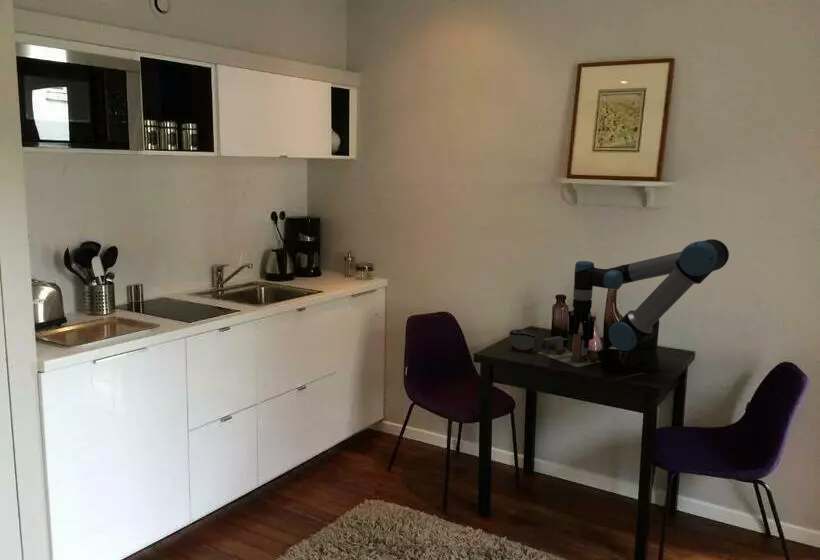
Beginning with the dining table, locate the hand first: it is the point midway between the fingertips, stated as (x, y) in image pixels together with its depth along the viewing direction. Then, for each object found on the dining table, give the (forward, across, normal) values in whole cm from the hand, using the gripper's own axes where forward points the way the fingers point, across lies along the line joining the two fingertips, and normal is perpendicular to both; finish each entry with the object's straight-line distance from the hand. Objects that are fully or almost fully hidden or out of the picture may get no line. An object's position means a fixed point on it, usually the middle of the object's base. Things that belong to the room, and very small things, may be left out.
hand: (579, 353), depth 288 cm
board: (+4, +6, 0) cm, 7 cm away
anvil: (+3, +14, 0) cm, 14 cm away
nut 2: (+3, -4, -4) cm, 7 cm away
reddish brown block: (+3, 0, 0) cm, 3 cm away
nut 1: (+3, +12, 0) cm, 12 cm away
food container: (+4, +23, +10) cm, 25 cm away
